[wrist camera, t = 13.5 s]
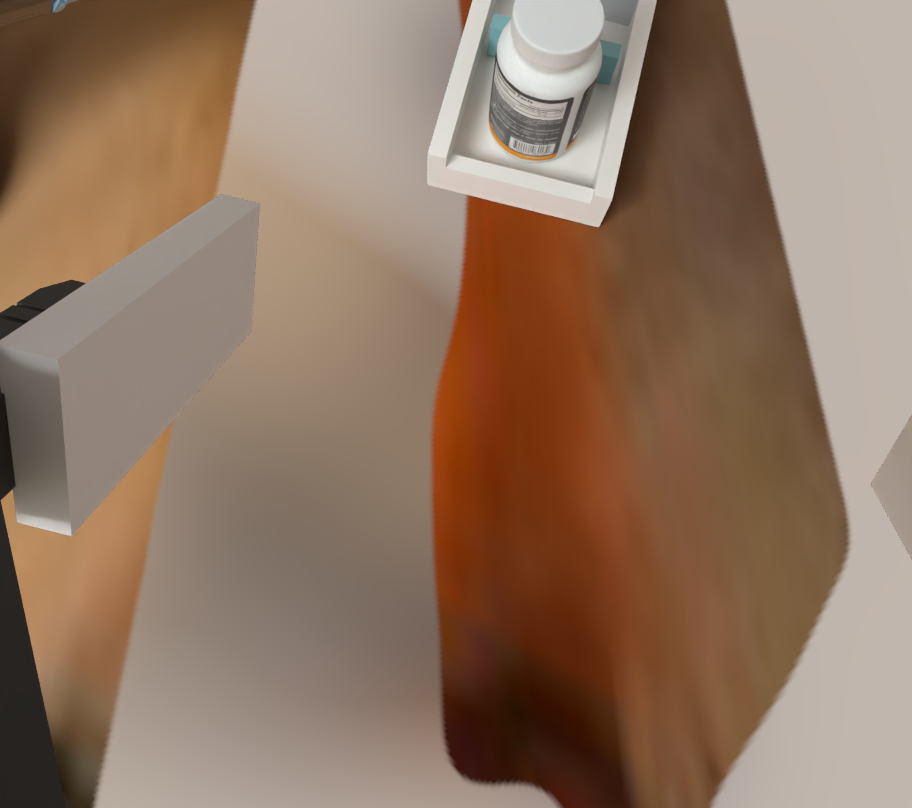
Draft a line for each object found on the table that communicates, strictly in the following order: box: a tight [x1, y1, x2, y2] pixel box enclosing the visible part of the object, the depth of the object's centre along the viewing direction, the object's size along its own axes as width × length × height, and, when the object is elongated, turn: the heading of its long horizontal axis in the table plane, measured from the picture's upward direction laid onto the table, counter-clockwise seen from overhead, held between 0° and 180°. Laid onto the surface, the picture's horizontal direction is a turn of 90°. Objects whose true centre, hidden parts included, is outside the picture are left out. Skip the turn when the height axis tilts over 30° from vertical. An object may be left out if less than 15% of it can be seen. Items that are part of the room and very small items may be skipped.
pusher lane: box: [427, 0, 657, 227], centre depth 48 cm, size 16×11×5 cm
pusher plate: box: [487, 14, 622, 85], centre depth 49 cm, size 3×8×2 cm, turn 76°
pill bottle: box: [488, 0, 605, 163], centre depth 44 cm, size 6×6×10 cm
